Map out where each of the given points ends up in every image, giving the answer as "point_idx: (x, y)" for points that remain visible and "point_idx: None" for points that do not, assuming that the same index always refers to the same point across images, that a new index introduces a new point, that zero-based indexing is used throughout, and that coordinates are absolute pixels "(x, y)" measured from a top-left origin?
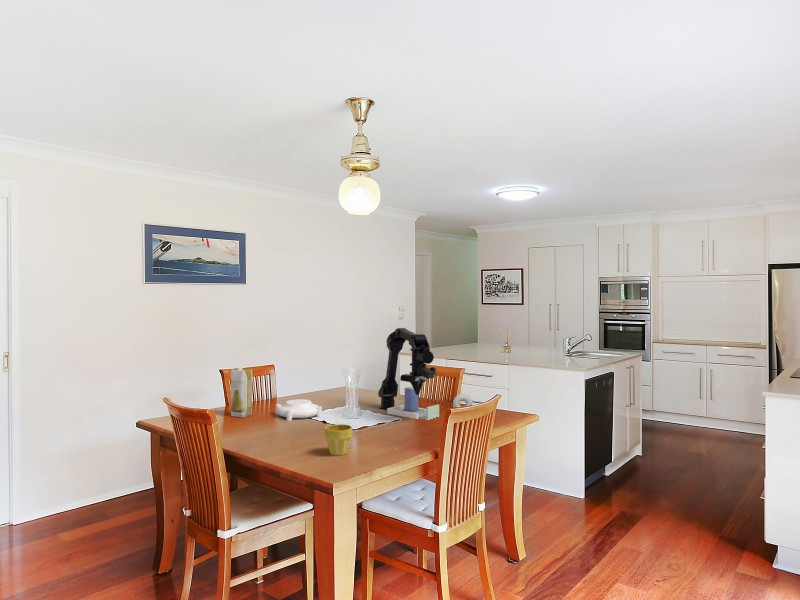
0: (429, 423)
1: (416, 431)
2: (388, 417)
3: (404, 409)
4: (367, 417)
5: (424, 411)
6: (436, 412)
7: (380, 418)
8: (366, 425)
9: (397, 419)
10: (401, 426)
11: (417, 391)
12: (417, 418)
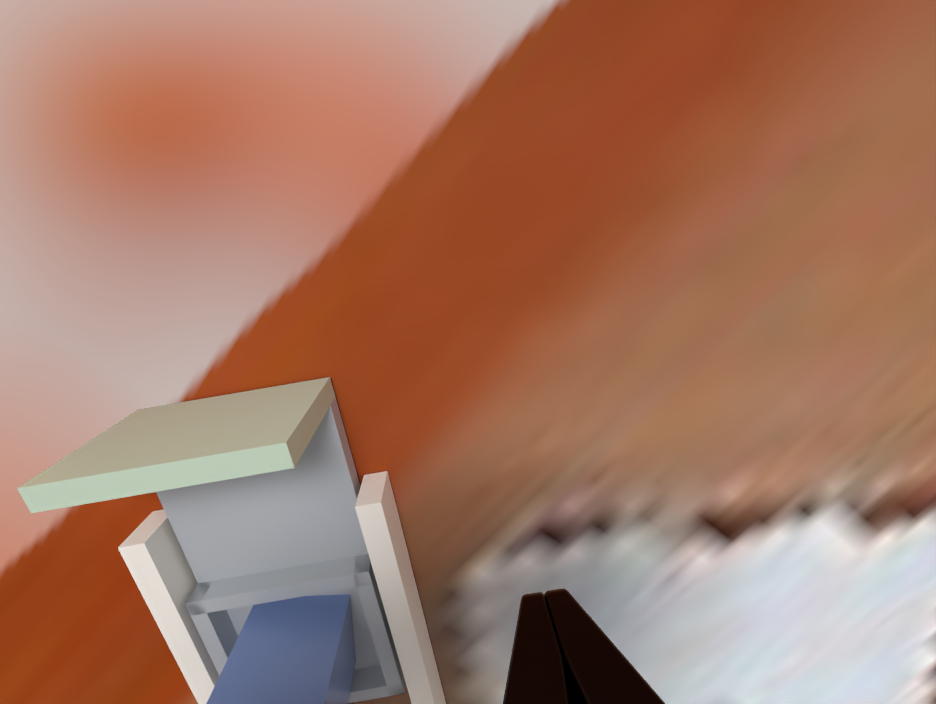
0: (404, 273)
1: (762, 95)
2: None
3: None
4: None
5: (186, 587)
6: (150, 427)
7: None
8: (846, 536)
9: (527, 553)
10: (695, 351)
11: (631, 669)
12: (378, 475)
